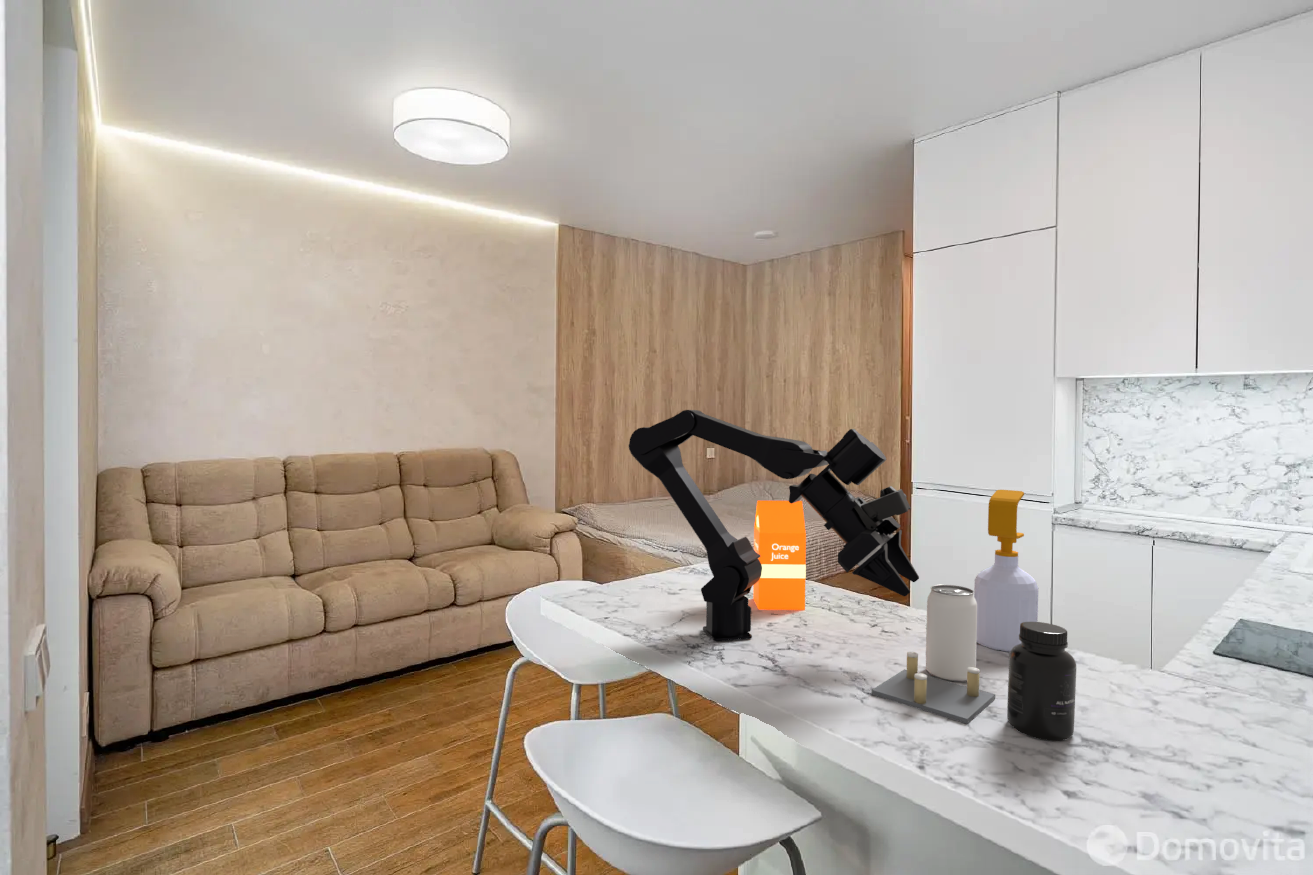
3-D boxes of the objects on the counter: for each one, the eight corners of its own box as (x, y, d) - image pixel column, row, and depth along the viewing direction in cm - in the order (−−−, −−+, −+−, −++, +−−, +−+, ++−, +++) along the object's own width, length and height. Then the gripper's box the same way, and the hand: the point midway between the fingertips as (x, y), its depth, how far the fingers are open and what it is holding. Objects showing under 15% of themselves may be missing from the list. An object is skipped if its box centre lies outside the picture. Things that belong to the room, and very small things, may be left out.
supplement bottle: (1074, 748, 74) (1077, 640, 74) (1004, 732, 78) (1007, 629, 77) (1074, 724, 80) (1077, 624, 80) (1009, 711, 84) (1012, 614, 83)
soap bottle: (1043, 643, 109) (1047, 491, 108) (1027, 657, 102) (1031, 495, 101) (983, 630, 115) (987, 486, 114) (965, 643, 108) (968, 490, 107)
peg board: (871, 694, 88) (872, 664, 88) (904, 673, 95) (904, 646, 95) (967, 723, 80) (968, 691, 80) (995, 698, 87) (995, 668, 87)
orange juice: (805, 610, 126) (806, 503, 125) (758, 609, 126) (759, 503, 126) (797, 598, 134) (798, 498, 133) (752, 598, 134) (753, 498, 133)
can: (983, 683, 92) (986, 595, 92) (936, 682, 92) (938, 595, 92) (963, 665, 99) (965, 584, 98) (918, 664, 99) (920, 583, 98)
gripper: (862, 474, 91) (949, 564, 87) (886, 465, 108) (961, 540, 103) (804, 527, 95) (885, 616, 90) (836, 511, 112) (906, 586, 107)
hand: (912, 586), depth 98 cm, fingers open, 9 cm apart
